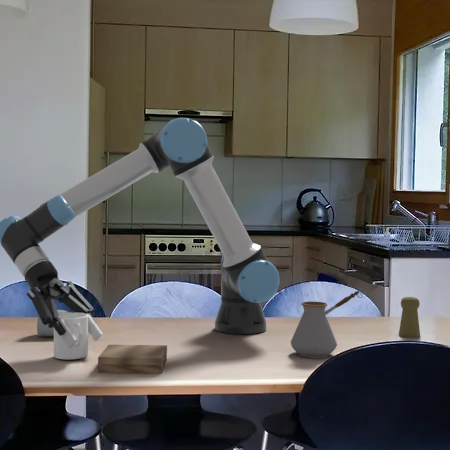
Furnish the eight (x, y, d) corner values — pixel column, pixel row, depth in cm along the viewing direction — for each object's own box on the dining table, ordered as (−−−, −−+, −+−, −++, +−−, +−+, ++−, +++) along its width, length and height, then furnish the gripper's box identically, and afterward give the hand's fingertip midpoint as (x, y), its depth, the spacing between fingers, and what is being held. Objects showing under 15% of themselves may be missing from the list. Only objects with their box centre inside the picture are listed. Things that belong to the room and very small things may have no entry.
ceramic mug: (67, 338, 189) (67, 310, 189) (36, 338, 189) (36, 310, 188) (72, 331, 200) (72, 305, 200) (43, 331, 199) (43, 305, 199)
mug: (64, 364, 159) (63, 322, 158) (50, 354, 169) (49, 313, 169) (98, 361, 163) (98, 319, 162) (82, 350, 173) (82, 311, 173)
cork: (422, 334, 199) (422, 296, 199) (418, 338, 194) (419, 299, 194) (400, 332, 202) (401, 295, 202) (396, 336, 197) (397, 297, 196)
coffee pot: (310, 362, 166) (311, 299, 165) (281, 352, 175) (281, 293, 175) (375, 351, 177) (376, 293, 176) (344, 343, 187) (345, 288, 186)
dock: (167, 359, 166) (167, 345, 166) (161, 373, 153) (161, 358, 153) (108, 359, 166) (108, 344, 166) (98, 373, 153) (98, 357, 153)
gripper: (59, 275, 183) (106, 342, 176) (-4, 283, 165) (46, 359, 158) (74, 256, 180) (123, 323, 173) (11, 262, 162) (63, 338, 155)
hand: (86, 340), depth 165 cm, fingers closed on mug, 8 cm apart
